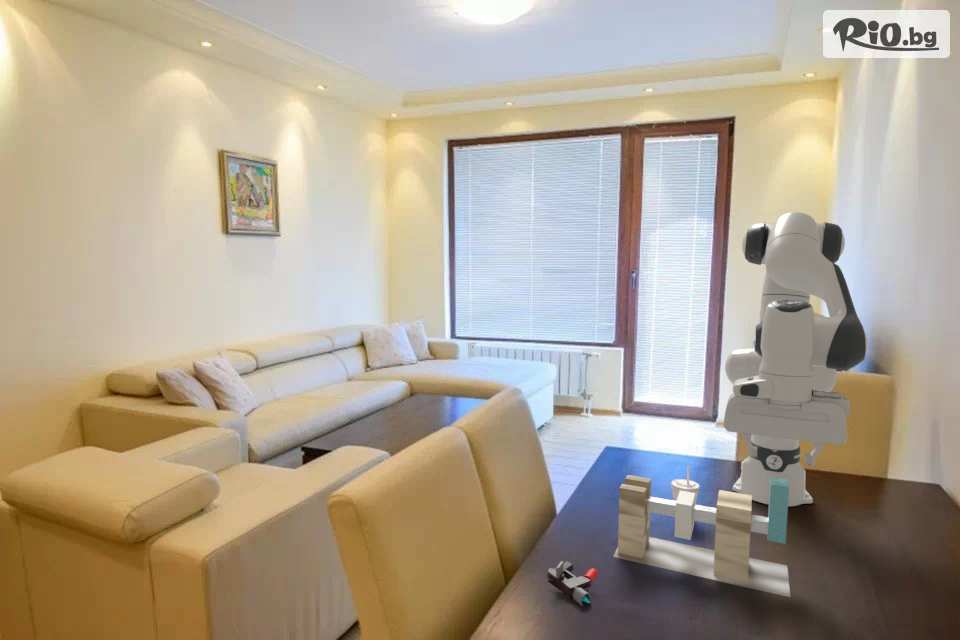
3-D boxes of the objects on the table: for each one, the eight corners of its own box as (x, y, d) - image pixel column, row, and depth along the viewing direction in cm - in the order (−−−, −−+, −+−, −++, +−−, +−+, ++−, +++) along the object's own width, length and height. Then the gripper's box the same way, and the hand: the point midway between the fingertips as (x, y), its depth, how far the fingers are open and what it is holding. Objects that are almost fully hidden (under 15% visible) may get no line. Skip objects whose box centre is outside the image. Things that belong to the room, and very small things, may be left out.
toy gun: (583, 612, 100) (583, 586, 99) (540, 580, 110) (541, 556, 109) (622, 595, 105) (622, 571, 104) (578, 566, 115) (578, 543, 114)
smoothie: (700, 530, 129) (702, 471, 128) (671, 528, 131) (673, 469, 129) (695, 518, 136) (698, 462, 134) (667, 516, 137) (669, 460, 136)
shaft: (641, 507, 120) (642, 457, 119) (784, 534, 108) (787, 479, 107) (637, 515, 117) (639, 463, 116) (785, 543, 105) (788, 486, 104)
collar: (678, 522, 119) (680, 490, 118) (693, 525, 117) (695, 492, 116) (674, 536, 112) (675, 503, 112) (690, 540, 111) (691, 505, 110)
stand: (625, 536, 126) (627, 471, 125) (787, 571, 112) (791, 498, 111) (612, 562, 116) (614, 490, 114) (790, 603, 102) (794, 522, 100)
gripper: (848, 390, 103) (843, 464, 104) (726, 379, 112) (723, 447, 113) (853, 397, 97) (848, 475, 98) (724, 385, 106) (721, 457, 107)
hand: (780, 460), depth 106 cm, fingers open, 8 cm apart
